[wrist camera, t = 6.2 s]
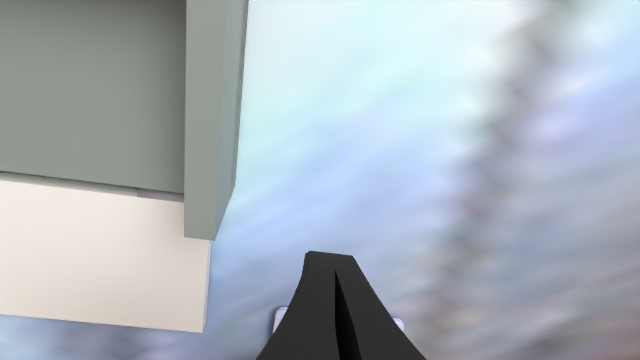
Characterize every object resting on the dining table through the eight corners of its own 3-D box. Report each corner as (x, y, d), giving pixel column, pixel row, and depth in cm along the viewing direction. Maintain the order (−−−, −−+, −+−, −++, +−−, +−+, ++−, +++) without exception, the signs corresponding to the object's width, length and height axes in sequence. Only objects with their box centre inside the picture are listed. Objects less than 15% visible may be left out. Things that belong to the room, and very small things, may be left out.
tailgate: (206, 320, 23) (202, 332, 23) (-48, 296, 22) (-64, 308, 21) (214, 189, 20) (210, 196, 20) (-79, 152, 19) (-98, 158, 18)
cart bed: (235, 185, 20) (214, 240, 16) (-102, 142, 19) (-230, 190, 15) (253, -67, 16) (231, -89, 11) (-195, -150, 14) (-427, -213, 10)
